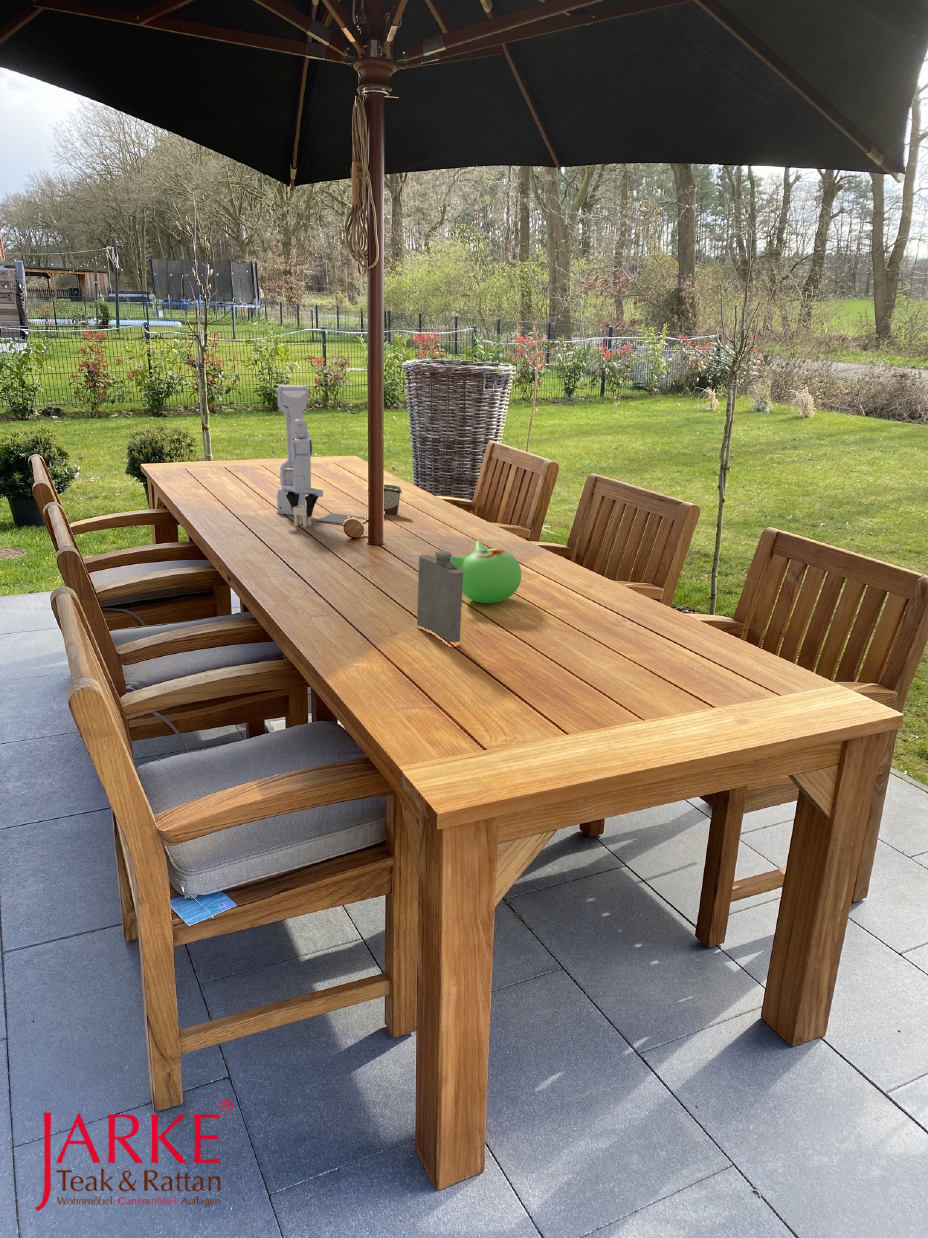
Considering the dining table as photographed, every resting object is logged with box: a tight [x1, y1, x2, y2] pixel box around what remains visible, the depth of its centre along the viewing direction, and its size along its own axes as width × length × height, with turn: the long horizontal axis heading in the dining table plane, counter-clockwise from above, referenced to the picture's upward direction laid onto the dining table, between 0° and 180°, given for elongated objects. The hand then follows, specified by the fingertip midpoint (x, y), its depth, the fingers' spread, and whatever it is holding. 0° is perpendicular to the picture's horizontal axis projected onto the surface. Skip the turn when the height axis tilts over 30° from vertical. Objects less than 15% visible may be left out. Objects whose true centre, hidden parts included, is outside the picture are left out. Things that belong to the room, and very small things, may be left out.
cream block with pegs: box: [293, 505, 312, 528], centre depth 300 cm, size 5×5×6 cm
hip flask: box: [416, 550, 463, 643], centre depth 204 cm, size 16×4×20 cm, turn 33°
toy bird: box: [450, 539, 522, 604], centre depth 231 cm, size 18×17×15 cm
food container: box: [367, 484, 403, 517], centre depth 322 cm, size 12×6×10 cm, turn 84°
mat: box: [315, 512, 368, 526], centre depth 310 cm, size 15×12×1 cm
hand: (302, 515), depth 300 cm, fingers closed on cream block with pegs, 5 cm apart
